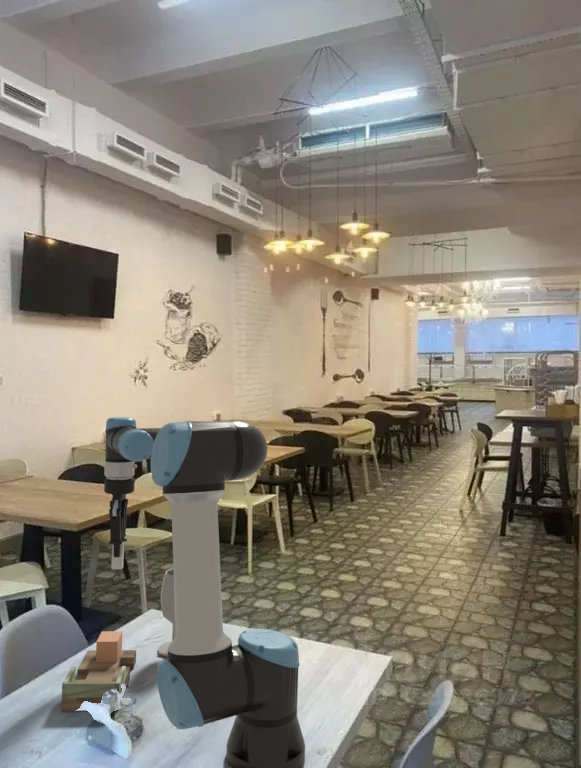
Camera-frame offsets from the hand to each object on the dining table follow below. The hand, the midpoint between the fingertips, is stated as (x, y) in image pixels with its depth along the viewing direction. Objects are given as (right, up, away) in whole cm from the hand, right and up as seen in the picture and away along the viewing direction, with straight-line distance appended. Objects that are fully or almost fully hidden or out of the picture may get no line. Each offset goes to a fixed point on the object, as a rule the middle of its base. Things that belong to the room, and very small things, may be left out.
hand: (117, 568), depth 161 cm
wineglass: (+14, -23, +3) cm, 27 cm away
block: (0, -20, -8) cm, 21 cm away
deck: (+1, -23, -16) cm, 28 cm away
